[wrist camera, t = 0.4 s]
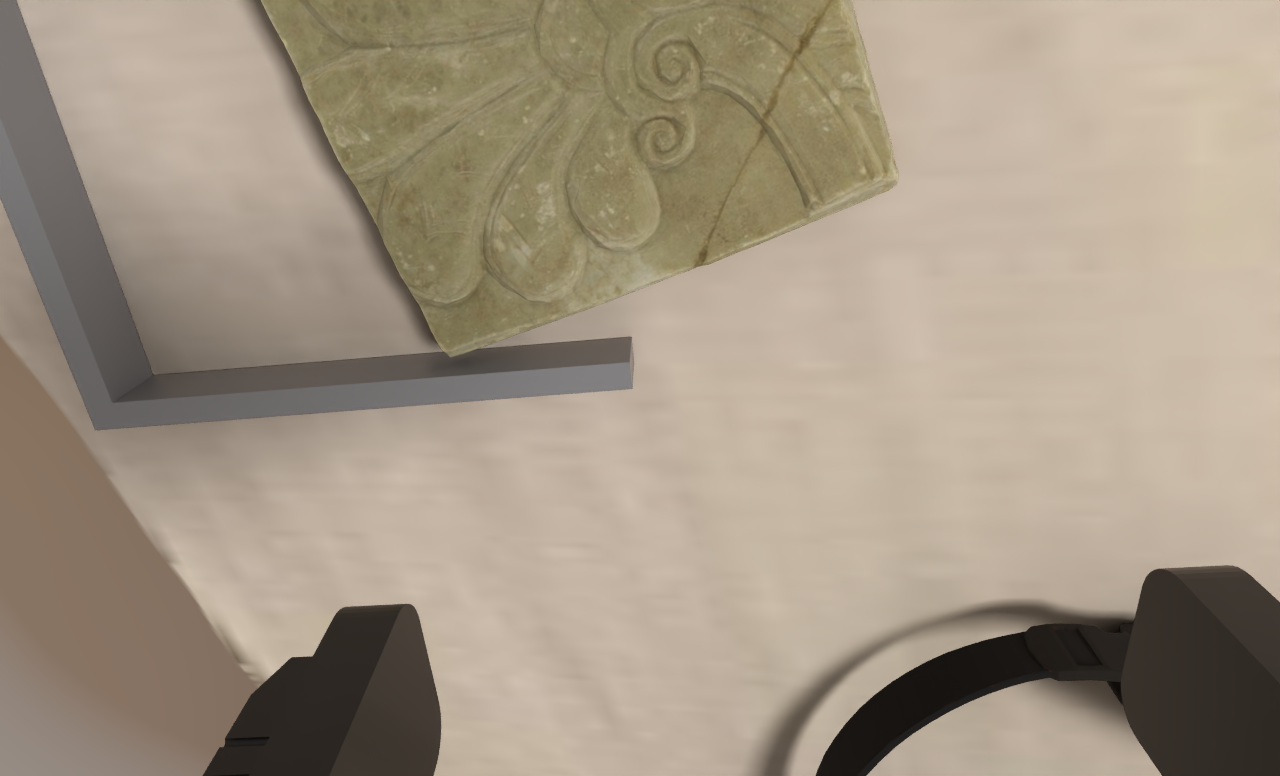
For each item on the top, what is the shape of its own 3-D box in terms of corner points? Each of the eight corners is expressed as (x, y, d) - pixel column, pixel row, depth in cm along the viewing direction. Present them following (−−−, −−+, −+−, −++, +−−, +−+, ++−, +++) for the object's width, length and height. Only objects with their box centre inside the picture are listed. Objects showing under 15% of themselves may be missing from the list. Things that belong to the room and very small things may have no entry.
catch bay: (-137, -320, 26) (-229, -362, 24) (556, -408, 25) (544, -463, 23) (136, 401, 37) (95, 430, 34) (633, 361, 36) (632, 388, 33)
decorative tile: (889, 178, 33) (915, 193, 30) (456, 341, 36) (436, 372, 33) (747, -365, 26) (761, -423, 23) (227, -104, 29) (173, -122, 26)
